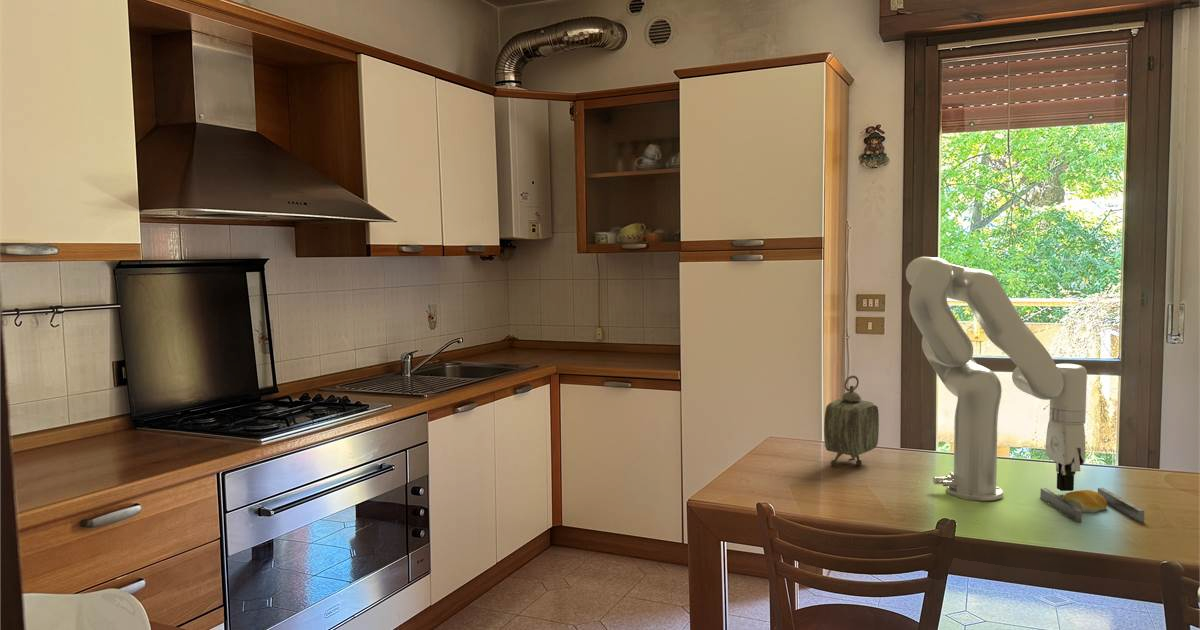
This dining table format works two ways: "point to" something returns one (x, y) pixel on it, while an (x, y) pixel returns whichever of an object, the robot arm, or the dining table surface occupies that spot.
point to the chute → (1077, 513)
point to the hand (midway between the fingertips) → (1065, 489)
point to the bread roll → (1086, 500)
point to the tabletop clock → (851, 425)
